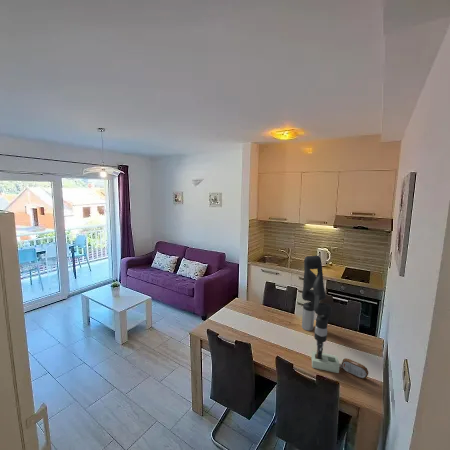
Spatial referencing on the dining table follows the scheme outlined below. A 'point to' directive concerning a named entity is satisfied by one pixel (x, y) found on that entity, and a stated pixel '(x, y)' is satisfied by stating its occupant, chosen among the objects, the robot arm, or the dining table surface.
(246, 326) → the dining table surface
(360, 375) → the tin
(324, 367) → the hole block
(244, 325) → the dining table surface
